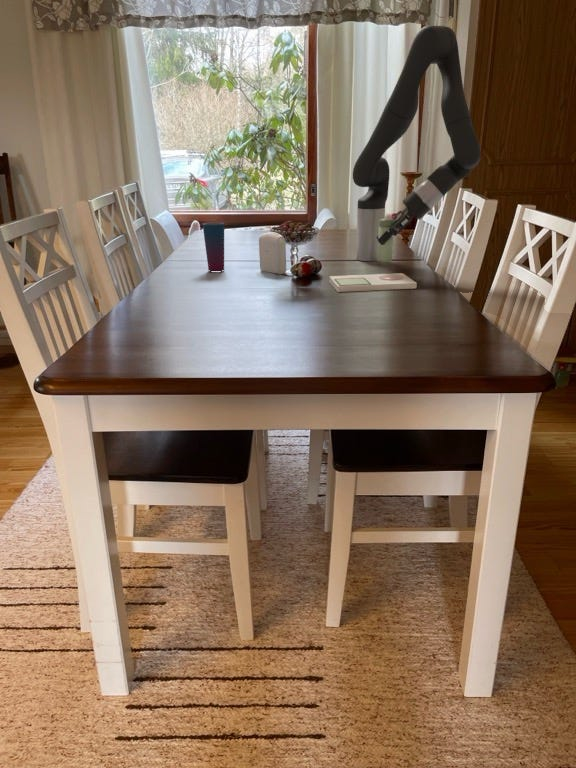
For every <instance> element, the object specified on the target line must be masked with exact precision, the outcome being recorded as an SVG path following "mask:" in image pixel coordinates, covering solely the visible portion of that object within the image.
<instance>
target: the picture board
mask: <svg viewBox="0 0 576 768" xmlns="http://www.w3.org/2000/svg"><path fill="white" fill-rule="evenodd" d="M328 280H329V281H328V282H329V283H330V284H331V286H333V288H334V289H335V290H336V291H337V292H338V293H341V292H343V293H346V292H364V291H385V290H387V291H388V290H409V289H417V284H418V283H417V282H416V281H414V280H413V279H412V278H410V277H409V276H407V275H406V274H405V273H402V272H401V273H400V272H399V273H394V272H393V273H376V274H375V273H374V274H373V273H372V274H354V275H353V274H352V275H330V276H329V277H328Z"/></svg>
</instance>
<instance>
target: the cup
mask: <svg viewBox="0 0 576 768" xmlns="http://www.w3.org/2000/svg"><path fill="white" fill-rule="evenodd" d="M202 230H203V237H204V244H205V252H206V260H207V267H208V268H207V269H208V271H209V270H210V271H222V270H224V271H225V223H224V222H213V221H212V222H204V223H202Z"/></svg>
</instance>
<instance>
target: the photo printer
mask: <svg viewBox="0 0 576 768" xmlns="http://www.w3.org/2000/svg"><path fill="white" fill-rule="evenodd" d="M286 245H287V244H286V239H285V237H284V236H283V235H281V234H280V233H277V232H275V231H274V232H273V231H269V232H264V233H262V234H260V236H259V238H258V251H259V268H260V271H263V272H267V273H273V274H276V275H283V274H286V272H287V252H286V251H287V249H286V248H287V246H286Z"/></svg>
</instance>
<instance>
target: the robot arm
mask: <svg viewBox="0 0 576 768" xmlns="http://www.w3.org/2000/svg"><path fill="white" fill-rule="evenodd" d="M459 52H460V51H459V46H458V39H457V36H456V33H455V31H454V30H453V29H452V28H451V27H449V26H446V25H431V24H430V25H425V26H423V27H422V28H420V29H419V31H418V32H416V34H415V37H414V38H413V41H412V43H411V45H410V48H409V51H408V53H407V57H406V59H405V62H404V65H403V67H402V70H401V72H400V75H399V77H398V79H397V81H396V83H395V86H394V89H393V91H392V92H391V95H390V96H389V98H388V101H387V102H386V103H385V104H386V105H385V106H384V109H383V110H382V113H381V115H380V117H379V120H378V122H377V124H376V126H375V128H374V130H373V131H372V134H371V136H370V137H369V140H368V141H367V143H366V145H365V147H364V148H363V149H362V151H361V153H360V155H359V156H358V157H357V160H356V162H355V163H354V165H353V170H352V181H353V182H354V184H355V186H358V187H360V188H367V192H366V193H365V194H364V195H363V196H362V197H360V198H359V199H358V200H357V209H356V210H357V213H356V214H357V217H356V218H357V219H356V220H357V222H356V228H357V229H356V260H357V261H362V262H377V261H378V260H377V258H378V242H379V243H380V244H381V245H384V244H385V243H386V242H387V241H388V240H389V239H390V238H391V237H393V238H394V237H396V236H397V235H398V234H400V232H402V231H403V230H404V229H405V228H406V227H407V226H409V225H410V223H411V219H412V218H413V217H415V218H416V219H417V220H422V218H424V216H425V215H427V214H428V213H429V212H430V211H431V210H432V209H433V208H434V207H435V206H436V205H437V204H438V203H440V201H441V200H442V198H443V197H444V196H445V195H447V194H448V192H450V190H452V189H453V187H454V186H456V184H458V182H460V181H461V180H462V179H463V178H466V176H468V175H469V174H470V173H471V172H472V171H473V170H475V168H477V166H478V165H479V163H480V161H481V155H482V150H481V146H480V142H479V139H478V137H477V134H476V133H475V132H476V131H475V129H474V126H473V121H472V117H471V113H470V110H469V109H470V108H469V107H468V103H467V99H466V95H465V91H464V84H463V76H462V70H461V61H460V53H459ZM432 64H434V65H437V67H438V69H439V73H440V76H441V79H442V80H441V81H442V90H441V100H440V108H441V115H442V119H443V122H444V126H445V130H446V132H447V135H448V137H449V139H450V144H451V147H452V151H453V155H452V156H451V157H450V158H449V159H448V160H447V161H446V162H445V163H444V164H443V165H440V166H439V167H437V168H436V169H435V170H433V172H431V174H430V175H429V176H428V177H427V178H425V180H423V181H422V182H420V183H419V184H418V185H417V186H416V187H415V188H414V189H413V190H412V191H411V192H410V193H408V195H406V197H405V198H404V199H403V200H402V204H403V205H404V206H405V208H404V209H403V210H402V211H401V210H399V211H398V212H396V214H395V215H394V216H393V217H392V218H391V219H394V221H393V222H392V223H391V226H390V228H388V229H387V231H386V232H385V233H384V234H383V235H382V236H381V237H380V238H379V239H378V235H379V219H384V218H386V217H385V215H386V202H387V200H388V197H389V186H390V165H389V163H388V160H387V159H386V158H384V157H383V155H384V154H385V152H387V150H389V149H390V148H391V147H392V146H393V145H394V144H395V143H396V142H397V141H398V140H400V139H401V138H402V137H403V136H404V135H405V134H406V132H407V131H408V129H409V128H410V127H411V124H412V122H413V120H414V118H415V116H416V114H417V112H418V108H419V99H420V98H419V97H420V94H419V93H420V86H421V85H420V84H421V82H422V81H423V78H424V76H425V74H426V71H427V70H428V68H429V67H430V65H432ZM378 262H379V261H378Z"/></svg>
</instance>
